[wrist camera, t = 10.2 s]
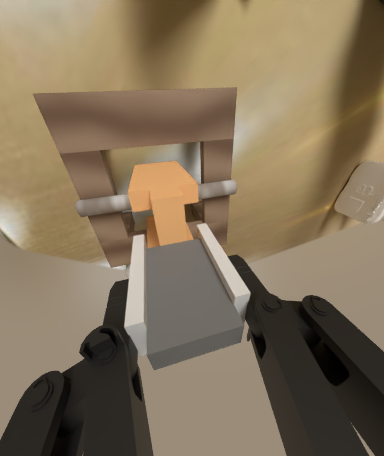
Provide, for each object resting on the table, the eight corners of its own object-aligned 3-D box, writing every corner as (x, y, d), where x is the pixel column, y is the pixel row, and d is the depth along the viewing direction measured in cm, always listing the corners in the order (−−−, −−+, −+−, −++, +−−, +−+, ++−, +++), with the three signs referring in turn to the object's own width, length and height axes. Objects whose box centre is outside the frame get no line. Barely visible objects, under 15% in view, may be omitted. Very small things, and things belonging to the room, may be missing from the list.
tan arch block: (134, 165, 19) (98, 302, 4) (176, 160, 20) (272, 260, 5) (148, 225, 24) (156, 398, 9) (182, 220, 25) (242, 367, 10)
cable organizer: (351, 209, 55) (395, 227, 45) (328, 208, 52) (370, 226, 42) (383, 162, 48) (443, 171, 38) (358, 157, 45) (417, 166, 35)
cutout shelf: (81, 108, 26) (18, 89, 13) (201, 102, 30) (246, 83, 17) (121, 224, 38) (108, 276, 25) (203, 211, 42) (231, 250, 28)
